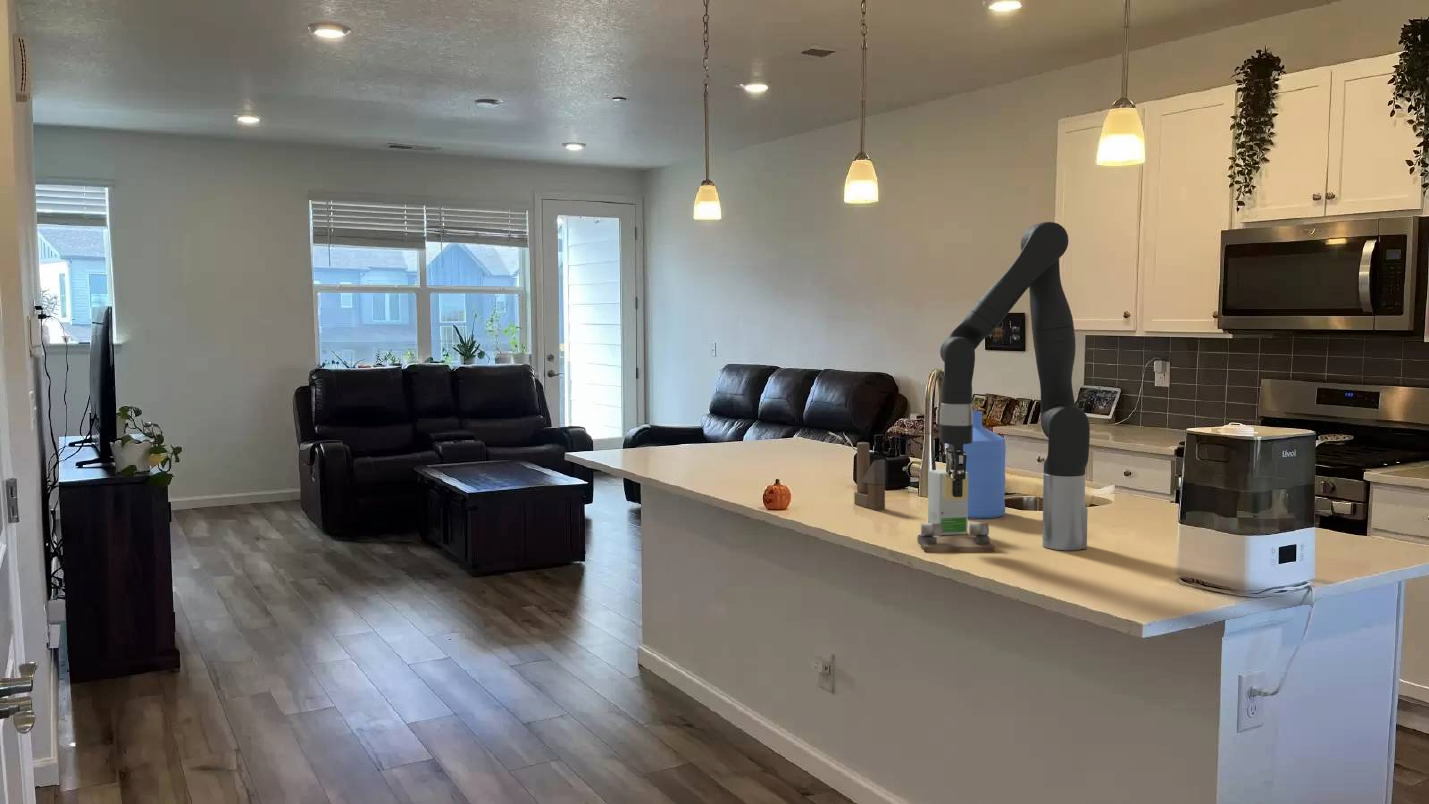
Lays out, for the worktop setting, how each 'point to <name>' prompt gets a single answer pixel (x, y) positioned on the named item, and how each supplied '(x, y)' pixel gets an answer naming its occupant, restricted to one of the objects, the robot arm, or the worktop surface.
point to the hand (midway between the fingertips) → (955, 494)
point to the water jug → (985, 472)
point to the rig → (955, 539)
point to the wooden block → (869, 479)
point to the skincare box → (946, 507)
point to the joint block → (948, 486)
